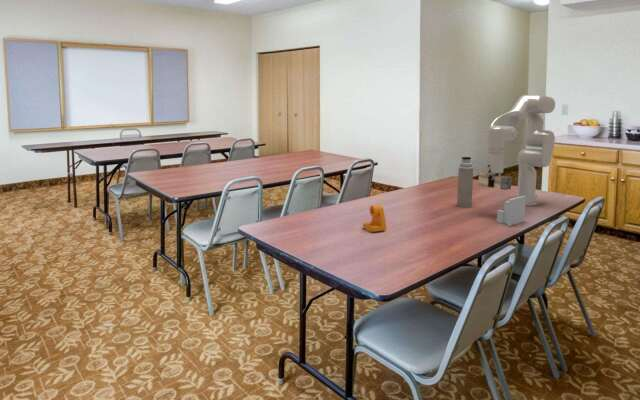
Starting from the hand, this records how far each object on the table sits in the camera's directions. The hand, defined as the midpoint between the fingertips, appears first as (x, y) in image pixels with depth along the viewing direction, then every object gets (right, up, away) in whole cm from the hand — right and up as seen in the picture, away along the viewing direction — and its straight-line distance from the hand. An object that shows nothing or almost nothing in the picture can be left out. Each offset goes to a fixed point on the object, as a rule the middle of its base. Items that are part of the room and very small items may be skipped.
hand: (493, 186), depth 260 cm
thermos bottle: (-8, -11, +26) cm, 30 cm away
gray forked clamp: (+4, -18, -9) cm, 21 cm away
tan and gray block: (0, -1, 0) cm, 1 cm away
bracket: (-64, -22, -18) cm, 70 cm away
